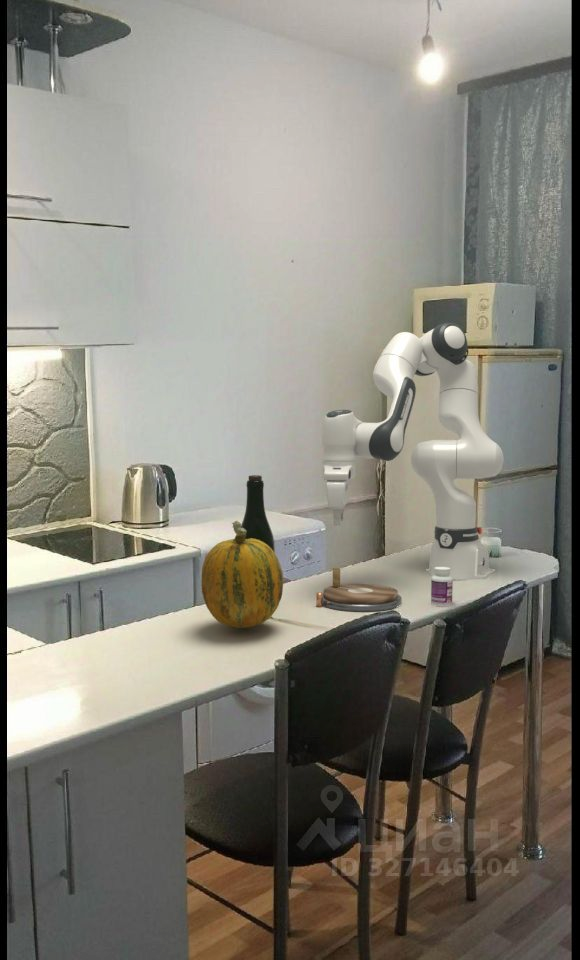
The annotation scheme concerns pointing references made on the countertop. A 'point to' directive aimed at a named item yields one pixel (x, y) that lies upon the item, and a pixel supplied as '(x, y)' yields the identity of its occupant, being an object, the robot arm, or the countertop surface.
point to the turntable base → (356, 608)
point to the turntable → (358, 592)
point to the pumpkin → (241, 581)
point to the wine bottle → (257, 513)
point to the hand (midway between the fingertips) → (338, 523)
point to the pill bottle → (441, 587)
